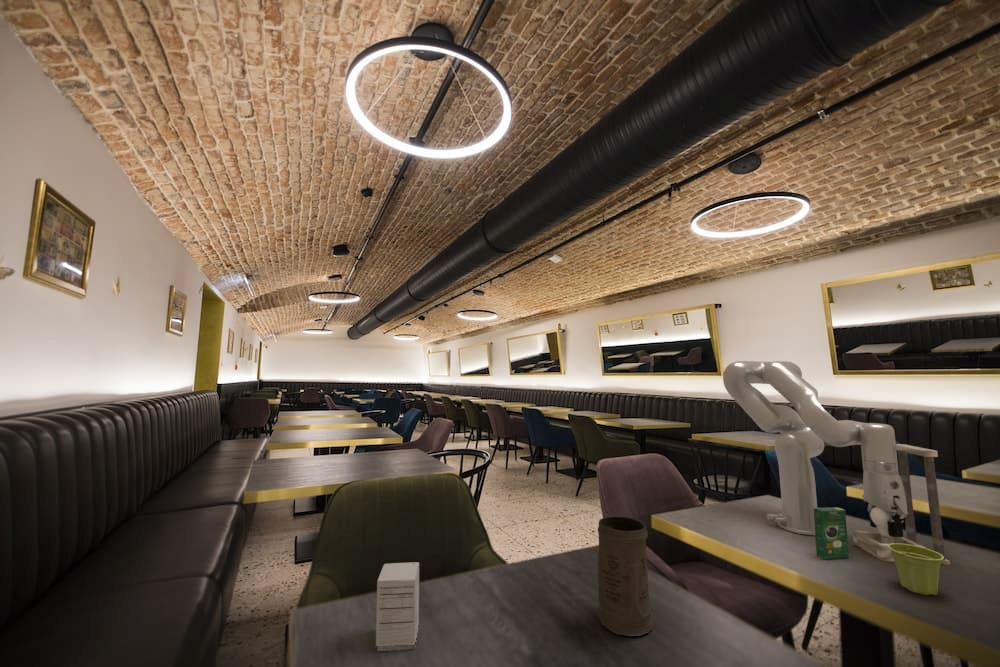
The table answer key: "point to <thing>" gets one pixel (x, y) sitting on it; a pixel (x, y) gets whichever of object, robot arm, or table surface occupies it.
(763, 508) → the table surface
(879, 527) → the lightbulb
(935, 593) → the plant pot
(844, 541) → the coffee box
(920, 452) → the socket stand
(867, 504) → the robot arm
